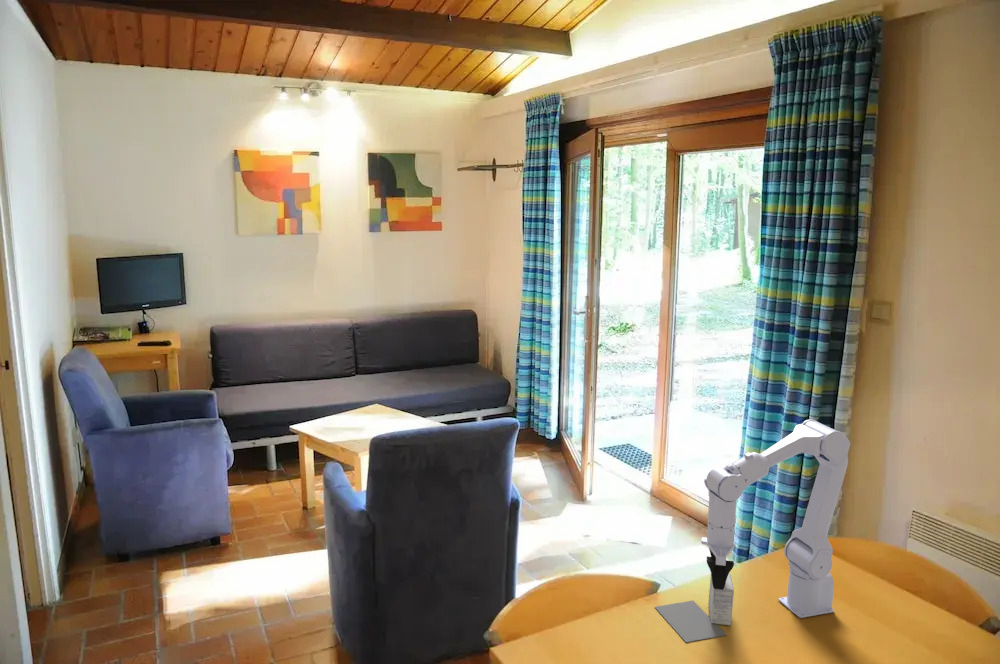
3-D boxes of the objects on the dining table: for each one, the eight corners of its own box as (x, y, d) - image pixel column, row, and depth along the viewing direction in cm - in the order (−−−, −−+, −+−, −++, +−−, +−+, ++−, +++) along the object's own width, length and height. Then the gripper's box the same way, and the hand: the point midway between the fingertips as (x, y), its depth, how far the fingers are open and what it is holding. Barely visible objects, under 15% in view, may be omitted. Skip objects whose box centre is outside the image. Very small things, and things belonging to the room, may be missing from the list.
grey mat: (693, 601, 173) (693, 600, 173) (726, 635, 160) (726, 634, 160) (654, 607, 170) (654, 606, 170) (685, 642, 157) (685, 641, 157)
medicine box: (731, 626, 163) (734, 590, 161) (710, 623, 163) (713, 587, 162) (727, 607, 170) (731, 573, 169) (707, 604, 171) (710, 570, 170)
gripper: (702, 507, 169) (699, 561, 171) (702, 535, 155) (699, 594, 157) (734, 510, 167) (731, 565, 169) (737, 539, 153) (733, 598, 156)
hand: (718, 579), depth 163 cm, fingers open, 7 cm apart
